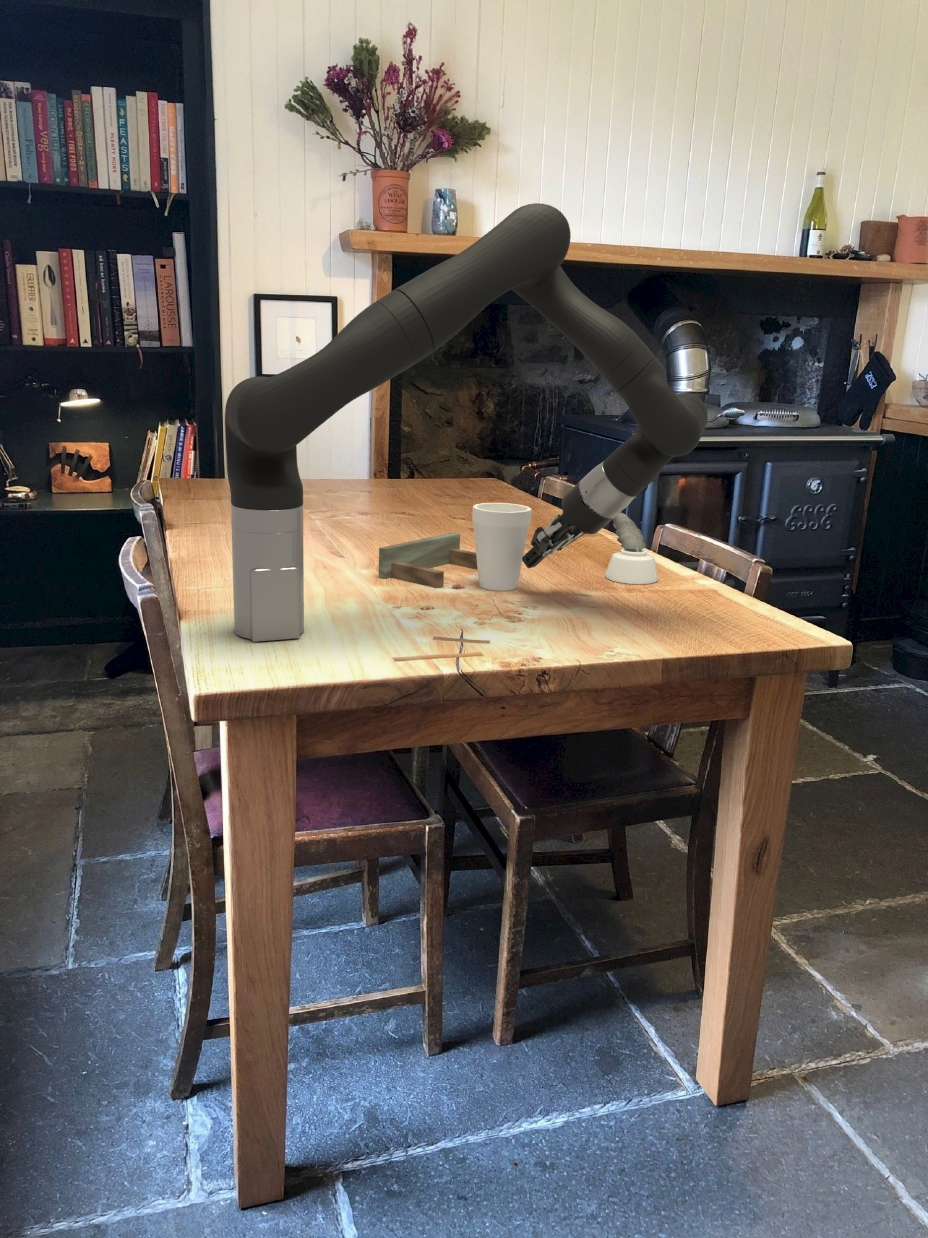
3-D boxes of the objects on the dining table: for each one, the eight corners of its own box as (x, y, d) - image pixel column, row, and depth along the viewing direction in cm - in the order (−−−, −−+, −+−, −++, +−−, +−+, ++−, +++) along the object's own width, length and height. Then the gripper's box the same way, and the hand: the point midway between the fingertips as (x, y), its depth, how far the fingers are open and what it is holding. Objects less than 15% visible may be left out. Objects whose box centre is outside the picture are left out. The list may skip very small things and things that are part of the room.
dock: (503, 570, 173) (505, 542, 171) (431, 589, 157) (432, 559, 156) (452, 559, 179) (453, 532, 178) (378, 577, 164) (379, 547, 163)
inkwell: (615, 585, 165) (620, 526, 162) (582, 561, 182) (586, 508, 179) (666, 584, 167) (672, 526, 164) (629, 561, 184) (633, 508, 181)
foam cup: (493, 576, 168) (497, 500, 164) (537, 586, 162) (542, 508, 159) (458, 585, 161) (461, 506, 157) (503, 596, 155) (507, 514, 152)
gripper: (607, 473, 152) (537, 539, 163) (562, 480, 142) (490, 550, 153) (635, 512, 151) (562, 575, 161) (590, 522, 140) (516, 589, 151)
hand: (527, 563), depth 157 cm, fingers closed
